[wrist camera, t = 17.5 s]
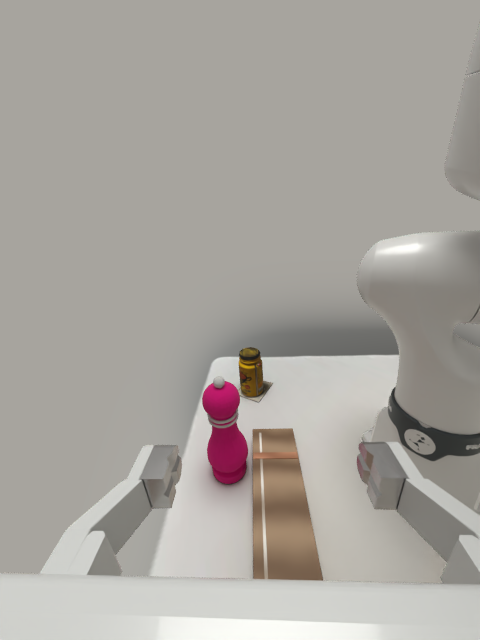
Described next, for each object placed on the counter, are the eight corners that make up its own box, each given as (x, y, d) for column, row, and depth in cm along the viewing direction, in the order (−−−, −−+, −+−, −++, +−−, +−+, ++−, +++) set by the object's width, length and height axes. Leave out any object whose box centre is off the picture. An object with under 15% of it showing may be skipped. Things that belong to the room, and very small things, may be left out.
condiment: (234, 394, 63) (230, 354, 59) (250, 377, 70) (247, 340, 65) (258, 402, 60) (256, 361, 55) (273, 384, 66) (272, 345, 62)
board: (253, 440, 49) (252, 428, 48) (292, 439, 49) (292, 428, 48) (255, 679, 23) (253, 667, 22) (338, 684, 23) (341, 672, 22)
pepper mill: (257, 463, 44) (251, 373, 37) (231, 496, 39) (218, 399, 32) (228, 444, 49) (218, 360, 41) (202, 471, 44) (185, 381, 36)
